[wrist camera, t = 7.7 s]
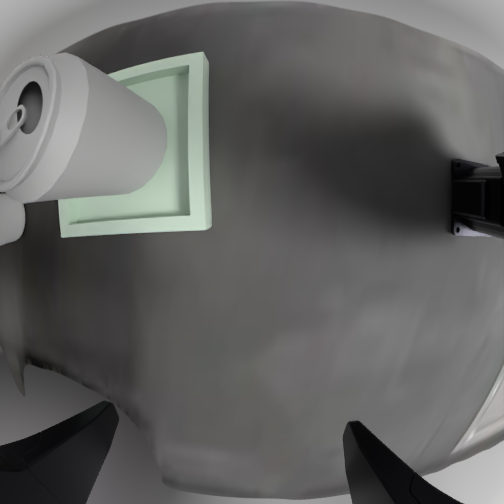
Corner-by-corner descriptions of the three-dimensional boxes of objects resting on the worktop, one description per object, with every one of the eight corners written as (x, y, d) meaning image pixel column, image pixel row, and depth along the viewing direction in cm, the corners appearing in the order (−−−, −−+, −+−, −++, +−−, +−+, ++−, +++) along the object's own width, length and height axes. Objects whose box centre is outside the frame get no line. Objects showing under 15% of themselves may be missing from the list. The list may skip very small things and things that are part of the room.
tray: (209, 63, 17) (203, 51, 15) (212, 226, 20) (205, 230, 18) (76, 97, 18) (63, 92, 16) (75, 233, 21) (61, 237, 19)
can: (189, 160, 18) (84, 124, 7) (112, 212, 19) (-11, 239, 8) (149, 85, 17) (53, 14, 5) (80, 139, 18) (-31, 121, 6)
